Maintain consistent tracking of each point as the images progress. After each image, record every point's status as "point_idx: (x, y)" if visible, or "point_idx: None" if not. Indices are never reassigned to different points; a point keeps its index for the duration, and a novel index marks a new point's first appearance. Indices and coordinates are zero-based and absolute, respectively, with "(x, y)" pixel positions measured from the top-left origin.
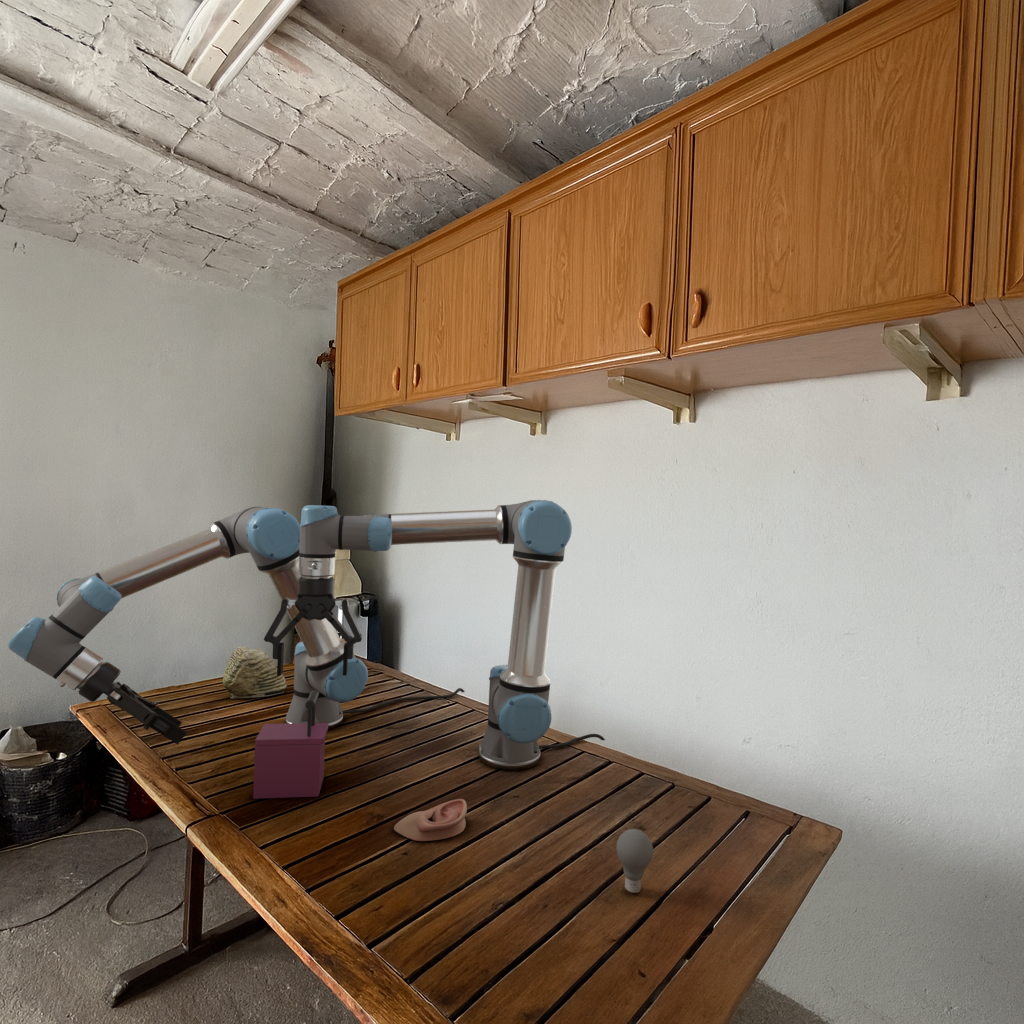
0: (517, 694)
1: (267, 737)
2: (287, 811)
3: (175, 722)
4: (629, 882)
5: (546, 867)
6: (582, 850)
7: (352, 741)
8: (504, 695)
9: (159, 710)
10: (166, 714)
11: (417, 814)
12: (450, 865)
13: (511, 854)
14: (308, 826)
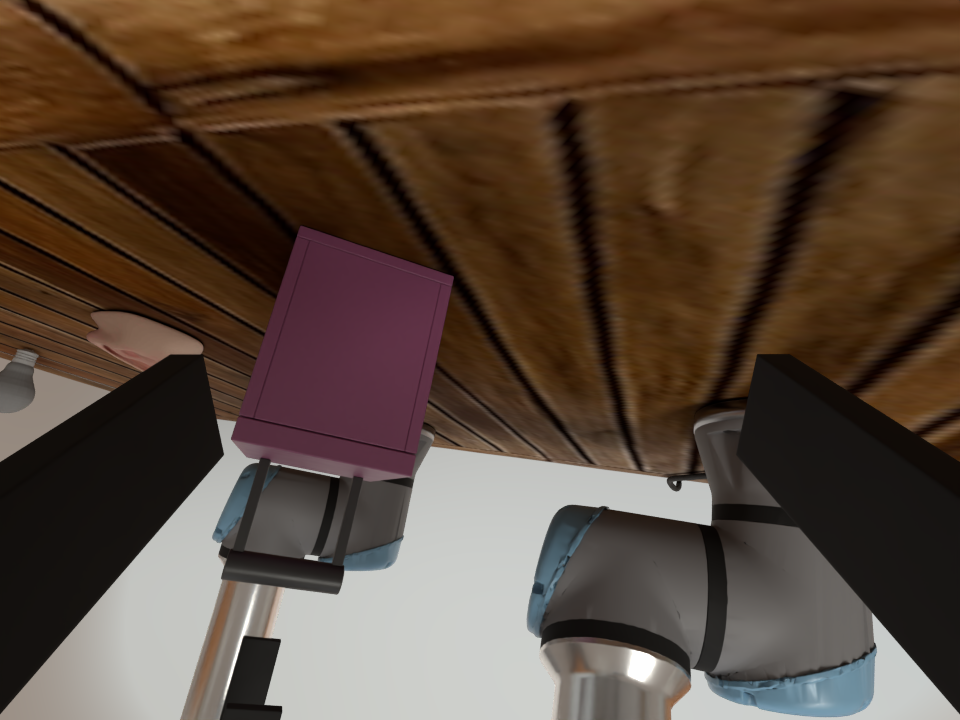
0: (224, 541)
1: (257, 448)
2: (206, 249)
3: (763, 458)
4: (14, 358)
5: (60, 341)
6: (115, 363)
7: (586, 402)
8: None
9: (915, 633)
10: (839, 554)
11: (151, 346)
12: (26, 305)
13: (86, 339)
14: (121, 250)
